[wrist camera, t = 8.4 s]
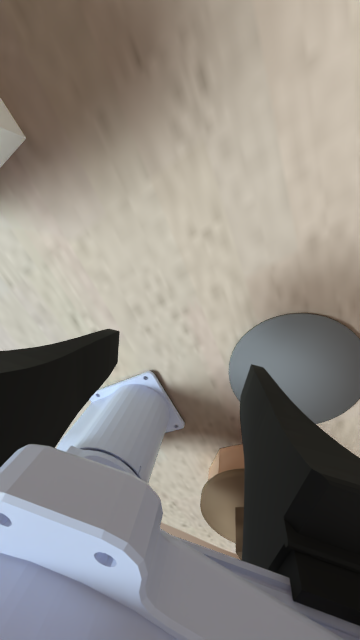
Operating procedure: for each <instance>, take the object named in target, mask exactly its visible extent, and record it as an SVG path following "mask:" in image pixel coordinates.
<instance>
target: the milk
mask: <svg viewBox="0 0 360 640" xmlns="http://www.w3.org/2000/svg"><path fill="white" fill-rule="evenodd" d="M25 139H26V137H25V136H24V134H23V132H22V131H21V129H20V128H19V126H18V125H17V123H16V121H15V120H14V118H13V117H12V115H11V114H10V112H9V110H8V109H7V107H6V106H5V104H4V103H3V101H2V99H1V98H0V168H1V166H2V165H3V164H4V163H5V162H6V161H7V160H8V159H9V157H10V156H11V155H12V154H13V153H14V152H15V151H16V149H17V148H18V147H19V146H20V145H21V144H22V143H23V141H24V140H25Z"/></svg>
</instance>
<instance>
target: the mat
mask: <svg viewBox="0 0 360 640" xmlns="http://www.w3.org/2000/svg"><path fill="white" fill-rule="evenodd" d="M251 364H252V365H256V366H260V367H264V369H265V370H266V371H267V372H268V373H269V374H270V376H271V377H272V378H273V379H274V381H275V382H276V383H277V384H278V386H279V387H280V388H281V389H282V390H283V392H284V393H285V394H286V395H287V396H288V397H289V399H290V400H291V401H292V402H293V403H294V404H295V405H296V406H297V407H298V408H299V409H300V410H301V411H302V412H303V413H304V414H305V415H306V416H307V417H308V418H309V419H310V420H311V421H313V422H314V423H315V424H318V423H322V422H325V421H328V420H331V419H333V418H335V417H337V416H339V415H341V414H342V413H344V412H346V411H347V410H348V409H350V408H351V407H352V406H353V405H354V404H355V403H356V402H357V401H358V400H359V399H360V339H359V338H358V337H357V336H356V335H355V334H354V333H353V332H352V331H351V330H349V329H348V328H347V327H346V326H344V325H343V324H341V323H339V322H337V321H335V320H333V319H330V318H328V317H324V316H321V315H316V314H309V313H294V314H286V315H281V316H277V317H274V318H271V319H268V320H266V321H264V322H261V323H260V324H258V325H256V326H255V327H253V328H252V329H251V330H249V331H248V332H247V333H246V334H245V335H244V336H243V337H242V338H241V339H240V341H239V342H238V343H237V345H236V346H235V348H234V350H233V352H232V355H231V358H230V363H229V379H230V384H231V387H232V389H233V392H234V394H235V395H236V397H237V398H238V400H239V401H240V397H241V393H242V390H243V387H244V384H245V381H246V378H247V375H248V372H249V369H250V366H251Z"/></svg>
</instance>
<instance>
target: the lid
mask: <svg viewBox="0 0 360 640" xmlns="http://www.w3.org/2000/svg"><path fill="white" fill-rule="evenodd" d="M200 507H201V512H202V515H203V517H204V519H205V520H206V522H207V523H208V524H209V525H210V527H211V528H212V529H213V530H215V531H216V532H217V533H218V534H220V535H221V536H223V537H224V538H226V539H228V540H230V541H232V542H234V543H236V553H237V555H238V556H239V558H240V560H242V546H243V521H244V469H242V468H241V469H232V470H227V471H224V472H221V473H219V474H217V475H215V476H213V477H212V478H211V479H209V480H208V481H207V483H206V484H205V485H204V487H203V489H202V493H201V503H200Z"/></svg>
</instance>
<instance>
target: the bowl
mask: <svg viewBox="0 0 360 640" xmlns="http://www.w3.org/2000/svg"><path fill="white" fill-rule="evenodd" d="M241 468H242V469H244V452H243V444H240V445H235V446H230V447H225V448H220V449H219V451H218V453H217V455H216V457H215V459H214V461H213V463H212V464H211V466H210V468H209V478H208V480H209V479H211V478H212V477H213V476H215V475H217V474H219V473H221V472H224V471H227V470H232V469H241Z"/></svg>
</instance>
